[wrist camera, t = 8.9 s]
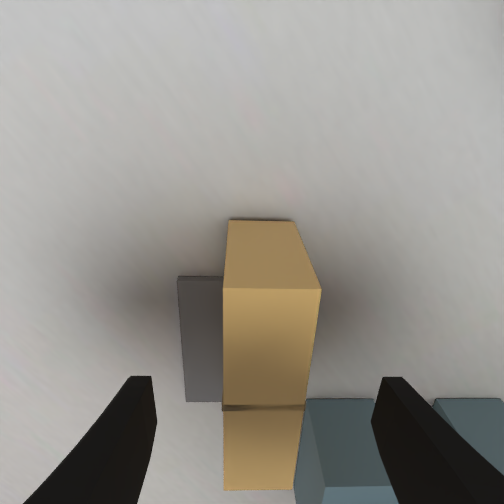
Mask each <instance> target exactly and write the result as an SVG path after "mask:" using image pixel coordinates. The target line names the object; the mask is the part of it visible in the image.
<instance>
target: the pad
mask: <svg viewBox="0 0 504 504" xmlns="http://www.w3.org/2000/svg"><path fill="white" fill-rule="evenodd" d="M223 281H224V277H201V276H178V279H177V288H178V301H179V315H180V328H181V342H182V355H183V368H184V382H185V395H186V402H222V393H223Z"/></svg>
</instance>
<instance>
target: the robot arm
mask: <svg viewBox="0 0 504 504" xmlns="http://www.w3.org/2000/svg"><path fill="white" fill-rule="evenodd" d="M371 425H372V429H373V433H374V437H375V440H376V444H377V447H378V451H379V454H380V457H381V460H382V463H383V465H384V468H385V470H386V473H387V475H388V478H389V480H390V483H391V486H392V488H393V491H394V493H395V496H396V498H397V501H398V503H399V504H504V475H503V474H502V473H501V472H500V471H498V470H497V469H496V468H495V467H494V466H493V465H492V464H491V463H489V462H488V461H487V460H486V459H485V458H484V457H483V456H482V455H481V454H480V453H478V452H477V451H476V450H475V449H474V448H473V447H472V446H471V445H470V444H469V443H468V442H467V441H466V440H465V439H464V438H462V437H461V436H460V435H459V434H458V433H457V432H456V431H455V430H454V429H453V428H452V427H451V426H450V425H449V424H448V423H447V422H446V421H445V420H444V419H443V418H442V417H441V416H440V415H439V414H438V413H437V412H436V411H435V410H434V409H433V408H432V407H431V406H430V405H429V404H428V403H427V402H426V401H425V400H424V399H423V398H422V397H421V396H420V395H419V394H418V393H417V392H416V391H415V390H414V389H413V388H412V387H411V386H410V384H409V383H408V382H407V381H405V380H404V379H403V378H402V377H383V378H382V381H381V385H380V389H379V392H378V396H377V400H376V403H375V407H374V410H373V414H372V418H371ZM156 426H157V416H156V408H155V401H154V393H153V386H152V378H151V376H130V377H129V378H128V379H127V381H126V382H125V383H124V385H123V386H122V388H121V389H120V390H119V392H118V393H117V394H116V396H115V397H114V398H113V400H112V401H111V402H110V404H109V405H108V406H107V408H106V409H105V410H104V412H103V413H102V414H101V415H100V417H99V418H98V419H97V420H96V422H95V423H94V424H93V425H92V427H91V428H90V429H89V430H88V432H87V433H86V434H85V435H84V436H83V438H82V439H81V440H80V441H79V443H78V444H77V445H76V446H75V447H74V448H73V450H72V451H71V452H70V453H69V454H68V455H67V456H66V458H65V459H64V460H63V461H62V462H61V463H60V464H59V465H58V467H57V468H56V469H55V470H54V471H53V472H52V473H51V475H50V476H49V477H48V478H47V479H46V480H45V481H44V482H43V483H42V484H41V485H40V486H39V487H38V489H37V490H36V491H35V492H34V493H33V494H32V495H31V496H30V497H29V498H28V499H27V500H26V501H25V502H24V503H23V504H137V502H138V499H139V495H140V492H141V488H142V485H143V482H144V478H145V475H146V471H147V468H148V464H149V461H150V457H151V452H152V447H153V442H154V437H155V431H156Z"/></svg>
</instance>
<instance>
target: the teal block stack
mask: <svg viewBox="0 0 504 504" xmlns="http://www.w3.org/2000/svg"><path fill="white" fill-rule="evenodd" d="M374 407H375V403H374V401H373V399H307V400H306V409H305V413H304V420H303V427H302V434H301V440H300V447H299V454H298V460H297V467H296V474H295V480H294V491H295V499H296V504H399V503H398V501H397V498H396V496H395V493H394V491H393V488H392V486H391V483H390V480H389V478H388V475H387V473H386V470H385V468H384V465H383V463H382V460H381V457H380V454H379V451H378V447H377V444H376V440H375V437H374V433H373V429H372V425H371V418H372V414H373V410H374ZM433 409H434V410H435V411H436V412H437V413H438V414H439V415H440V416H441V417H442V418H443V419H444V420H445V421H446V422H447V423H448V424H449V425H450V426H451V427H452V428H453V429H454V430H455V431H456V432H457V433H458V434H459V435H460V436H461V437H462V438H464V439H465V440H466V441H467V442H468V443H469V444H470V445H471V446H472V447H473V448H474V449H475V450H476V451H477V452H478V453H480V454H481V455H482V456H483V457H484V458H485V459H486V460H487V461H488V462H489V463H491V464H492V465H493V466H494V467H495V468H496V469H497V470H498V471H500V472H501V473H502V474H503V475H504V403H503V401H502V400H501V399H436V401H435V403H434V406H433Z"/></svg>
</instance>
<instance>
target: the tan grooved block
mask: <svg viewBox="0 0 504 504" xmlns="http://www.w3.org/2000/svg"><path fill="white" fill-rule="evenodd" d="M321 291H322V289H321V286H320V284H319V281H318V279H317V276H316V274H315V272H314V269H313V267H312V264H311V262H310V259H309V257H308V254H307V252H306V249H305V247H304V245H303V242H302V240H301V237H300V235H299V232H298V230H297V227H296V225H295V222H290V221H242V220H229V223H228V235H227V246H226V258H225V270H224V281H223V393H222V411H223V427H224V490H292V486H293V480H294V473H295V466H296V459H297V453H298V446H299V439H300V432H301V426H302V419H303V412H304V411H305V409H306V401H305V399H306V392H307V385H308V379H309V372H310V365H311V358H312V352H313V345H314V338H315V331H316V325H317V318H318V311H319V304H320V298H321Z"/></svg>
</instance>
